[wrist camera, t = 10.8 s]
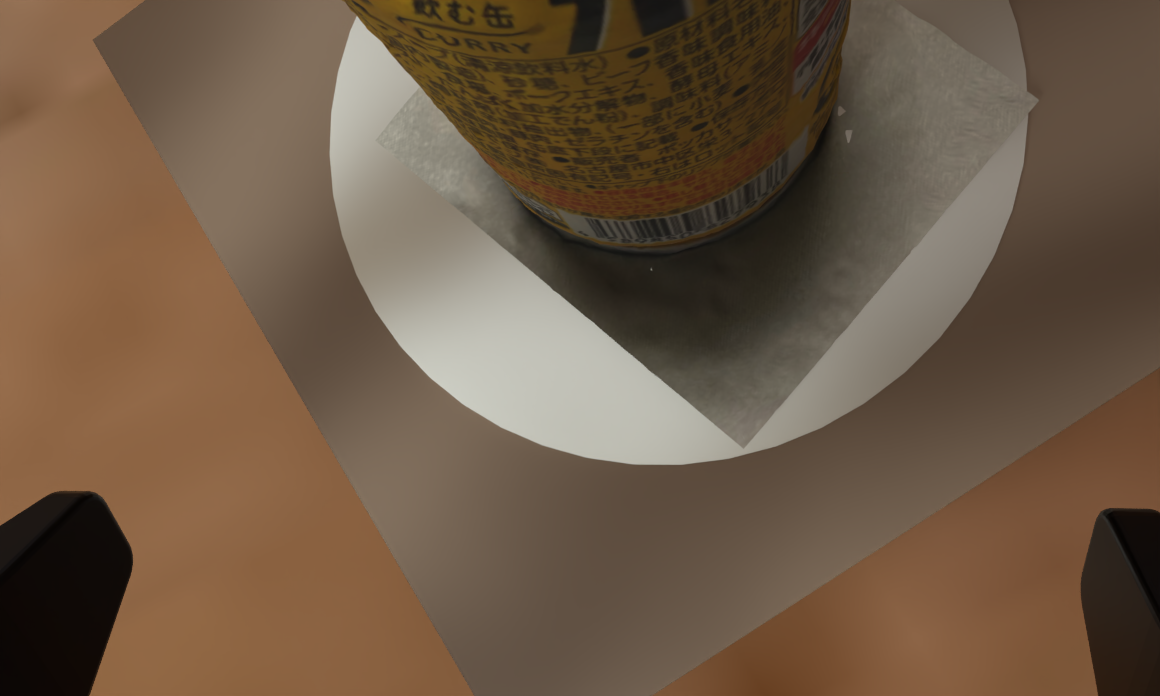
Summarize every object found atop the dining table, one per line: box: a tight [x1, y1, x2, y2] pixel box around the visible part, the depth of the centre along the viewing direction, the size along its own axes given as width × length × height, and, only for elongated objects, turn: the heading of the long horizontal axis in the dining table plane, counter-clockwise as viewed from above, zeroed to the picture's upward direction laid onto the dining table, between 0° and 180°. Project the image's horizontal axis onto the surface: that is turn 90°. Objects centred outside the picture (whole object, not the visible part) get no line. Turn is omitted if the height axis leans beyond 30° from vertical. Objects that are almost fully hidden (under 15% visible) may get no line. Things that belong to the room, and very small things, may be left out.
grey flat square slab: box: [93, 0, 1160, 696], centre depth 18 cm, size 16×16×1 cm
